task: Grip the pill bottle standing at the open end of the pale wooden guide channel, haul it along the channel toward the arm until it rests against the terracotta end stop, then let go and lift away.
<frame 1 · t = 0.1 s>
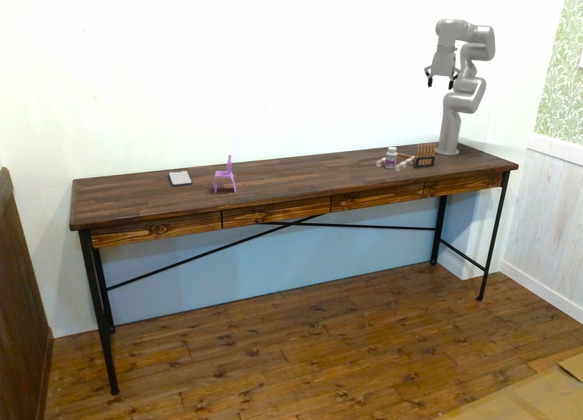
hand: (439, 88, 213), 37 cm above the table, tool pointing down, fingers open, 9 cm apart
toy chair: (225, 190, 191), on the table
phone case: (180, 181, 201), on the table
ammunition clip: (423, 166, 223), on the table
pill bottle: (390, 167, 221), on the table
guide channel: (396, 163, 226), on the table
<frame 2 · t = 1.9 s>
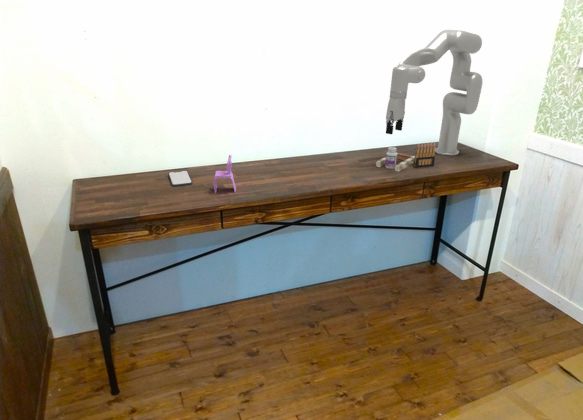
hand: (393, 131, 214), 17 cm above the table, tool pointing down, fingers open, 9 cm apart
nothing on the table moved.
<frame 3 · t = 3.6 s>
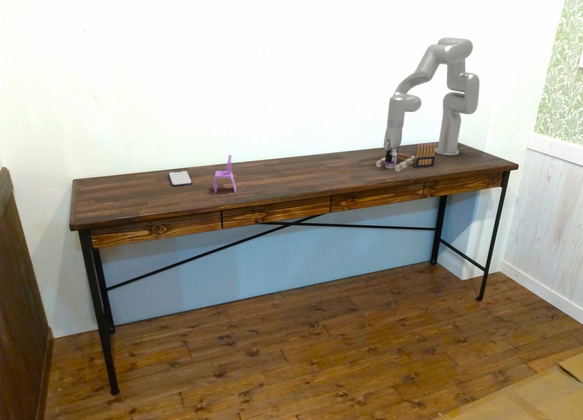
hand: (391, 160, 220), 4 cm above the table, tool pointing down, fingers closed on pill bottle, 5 cm apart
pill bottle: (390, 167, 221), on the table, touching gripper
everything else where it was.
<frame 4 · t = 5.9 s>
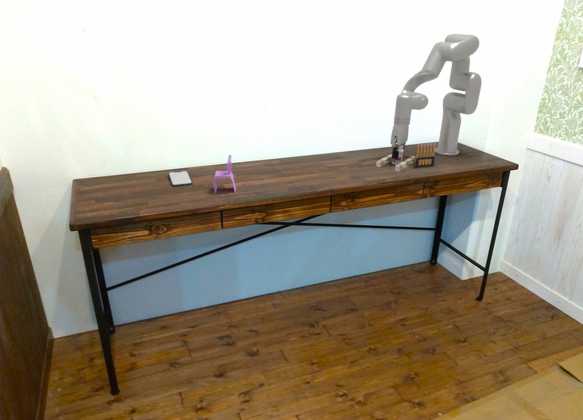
hand: (397, 156, 225), 4 cm above the table, tool pointing down, fingers closed on pill bottle, 5 cm apart
pill bottle: (396, 163, 227), on the table, touching gripper
everything else where it was.
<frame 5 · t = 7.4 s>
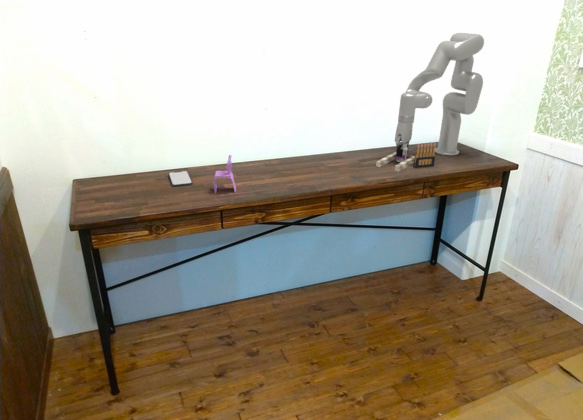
hand: (401, 154, 228), 4 cm above the table, tool pointing down, fingers closed on pill bottle, 5 cm apart
pill bottle: (400, 161, 230), on the table, touching gripper
everything else where it was.
when the fingers open (4 cm above the table, at t = 8.1 s): pill bottle stays where it is, on the table.
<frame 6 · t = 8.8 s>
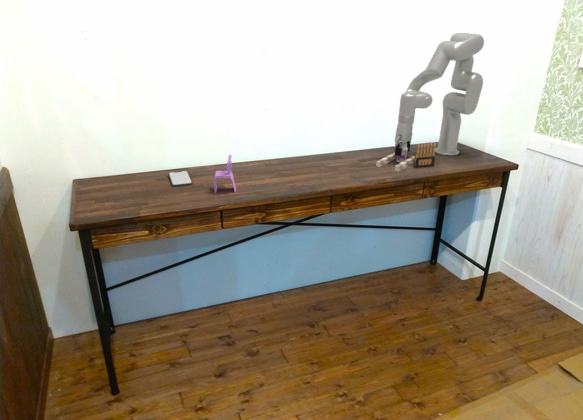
hand: (402, 153, 228), 4 cm above the table, tool pointing down, fingers open, 9 cm apart
pill bottle: (400, 161, 230), on the table
everything else where it was.
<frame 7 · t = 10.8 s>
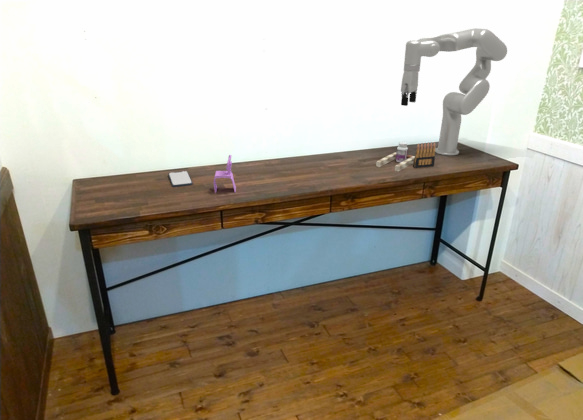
hand: (408, 103, 226), 27 cm above the table, tool pointing down, fingers open, 9 cm apart
nothing on the table moved.
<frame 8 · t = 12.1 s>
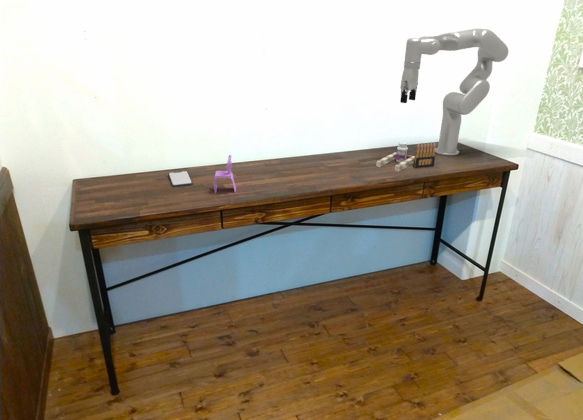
hand: (407, 101, 227), 28 cm above the table, tool pointing down, fingers open, 9 cm apart
nothing on the table moved.
at the end: pill bottle 0.1 cm from the target spot, on the table; pill bottle tilted 0°; the gripper is holding nothing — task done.
